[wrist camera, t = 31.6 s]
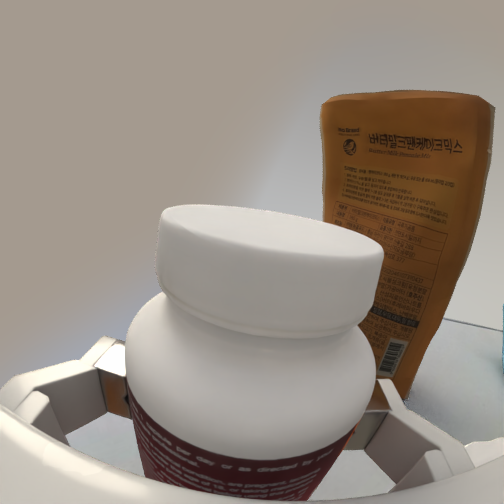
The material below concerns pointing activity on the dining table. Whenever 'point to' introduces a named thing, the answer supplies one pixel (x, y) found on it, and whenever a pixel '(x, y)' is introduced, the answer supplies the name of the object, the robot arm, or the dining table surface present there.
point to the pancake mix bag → (407, 205)
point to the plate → (485, 451)
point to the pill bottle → (251, 351)
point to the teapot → (503, 340)
